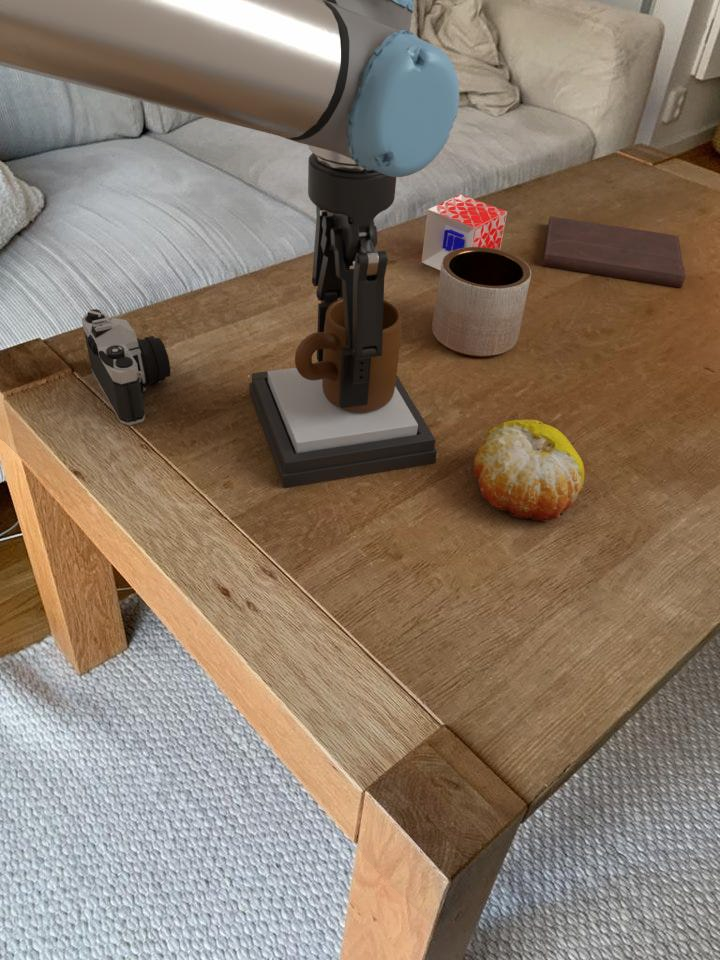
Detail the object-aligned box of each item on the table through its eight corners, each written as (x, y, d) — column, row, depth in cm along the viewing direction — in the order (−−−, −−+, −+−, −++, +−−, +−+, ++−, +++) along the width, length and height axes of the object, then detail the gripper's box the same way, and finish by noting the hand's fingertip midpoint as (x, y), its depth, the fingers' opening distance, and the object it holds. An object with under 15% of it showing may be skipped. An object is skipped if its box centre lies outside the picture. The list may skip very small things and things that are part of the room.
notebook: (548, 225, 130) (550, 212, 129) (675, 244, 127) (679, 232, 126) (542, 266, 119) (545, 254, 118) (681, 289, 116) (685, 276, 115)
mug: (320, 441, 79) (323, 358, 73) (272, 403, 83) (272, 322, 77) (409, 397, 85) (419, 318, 79) (361, 365, 89) (367, 287, 83)
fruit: (444, 466, 83) (475, 399, 79) (521, 467, 88) (554, 404, 84) (503, 538, 75) (541, 468, 71) (584, 534, 81) (623, 469, 77)
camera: (192, 411, 88) (183, 335, 83) (121, 431, 85) (108, 353, 79) (148, 359, 97) (138, 288, 91) (82, 375, 93) (68, 302, 88)
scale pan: (296, 455, 80) (296, 442, 79) (267, 382, 89) (267, 370, 88) (416, 436, 83) (418, 424, 82) (377, 368, 92) (378, 356, 91)
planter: (413, 330, 103) (421, 260, 97) (472, 305, 109) (483, 238, 103) (476, 370, 97) (489, 298, 91) (534, 341, 103) (551, 272, 97)
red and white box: (497, 264, 119) (507, 211, 113) (466, 281, 114) (475, 227, 109) (452, 245, 122) (460, 193, 117) (420, 262, 118) (427, 209, 112)
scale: (283, 488, 80) (283, 464, 78) (249, 394, 91) (248, 372, 89) (435, 463, 84) (439, 440, 82) (384, 376, 95) (387, 354, 93)
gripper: (440, 201, 62) (410, 436, 77) (359, 112, 77) (347, 325, 92) (346, 208, 60) (334, 448, 75) (280, 115, 75) (281, 332, 90)
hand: (341, 380), depth 84 cm, fingers closed on mug, 8 cm apart
